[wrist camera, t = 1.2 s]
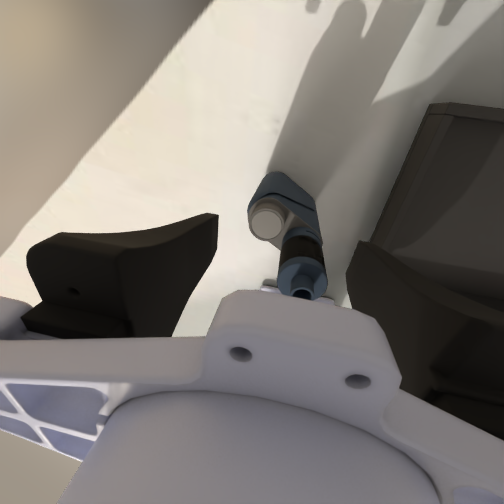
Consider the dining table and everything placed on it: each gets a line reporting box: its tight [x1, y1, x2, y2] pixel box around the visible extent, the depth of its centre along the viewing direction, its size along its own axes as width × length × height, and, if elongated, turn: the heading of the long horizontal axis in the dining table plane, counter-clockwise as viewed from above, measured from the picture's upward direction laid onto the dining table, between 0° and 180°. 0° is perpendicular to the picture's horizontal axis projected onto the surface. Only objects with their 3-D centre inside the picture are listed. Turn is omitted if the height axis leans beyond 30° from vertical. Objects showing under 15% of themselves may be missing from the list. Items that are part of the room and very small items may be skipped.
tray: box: [370, 102, 504, 313], centre depth 17 cm, size 14×16×2 cm
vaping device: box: [247, 172, 328, 301], centre depth 15 cm, size 3×5×12 cm, turn 53°
